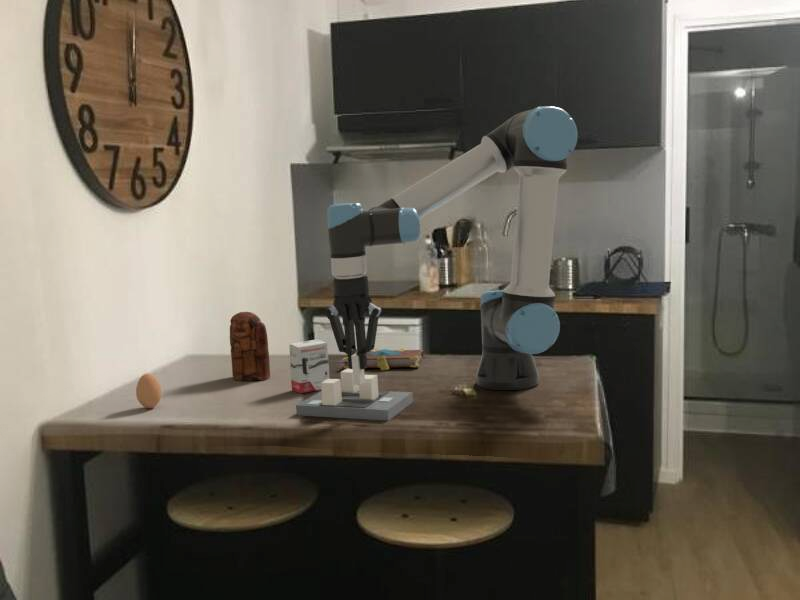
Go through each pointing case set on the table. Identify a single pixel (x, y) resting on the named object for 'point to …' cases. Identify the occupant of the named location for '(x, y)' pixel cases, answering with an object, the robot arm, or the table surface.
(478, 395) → the table surface
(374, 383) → the tab
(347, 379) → the tab
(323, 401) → the tab
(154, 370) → the table surface
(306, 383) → the ink box
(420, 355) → the book
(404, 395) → the switch bank
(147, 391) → the egg
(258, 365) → the wooden figurine
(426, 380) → the table surface
